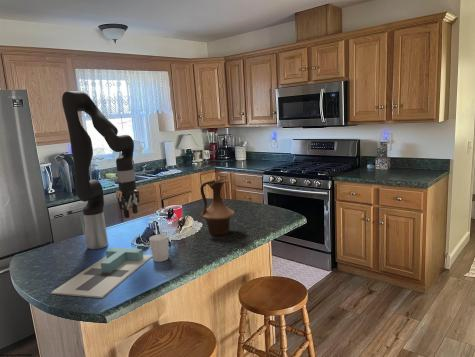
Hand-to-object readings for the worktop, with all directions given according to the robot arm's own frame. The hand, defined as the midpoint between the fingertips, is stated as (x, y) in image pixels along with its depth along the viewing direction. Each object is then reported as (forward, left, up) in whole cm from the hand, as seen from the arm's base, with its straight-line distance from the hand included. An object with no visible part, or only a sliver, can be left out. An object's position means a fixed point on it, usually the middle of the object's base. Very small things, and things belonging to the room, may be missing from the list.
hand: (131, 215), depth 169 cm
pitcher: (+31, +30, -18) cm, 47 cm away
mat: (0, -22, -18) cm, 29 cm away
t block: (0, -15, -17) cm, 23 cm away
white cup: (+16, -6, -18) cm, 25 cm away
